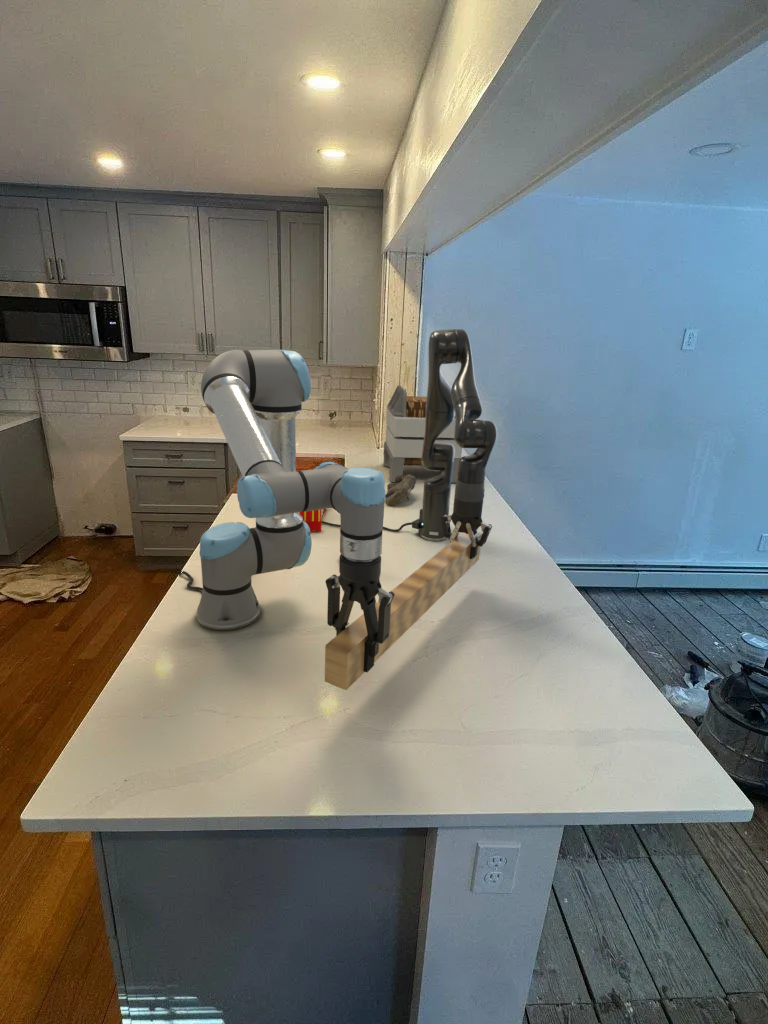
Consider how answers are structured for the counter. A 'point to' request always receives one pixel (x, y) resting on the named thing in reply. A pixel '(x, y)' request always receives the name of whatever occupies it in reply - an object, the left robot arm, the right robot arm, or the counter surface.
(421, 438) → the transformer
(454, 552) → the post
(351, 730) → the counter surface
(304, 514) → the toy
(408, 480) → the fossil
